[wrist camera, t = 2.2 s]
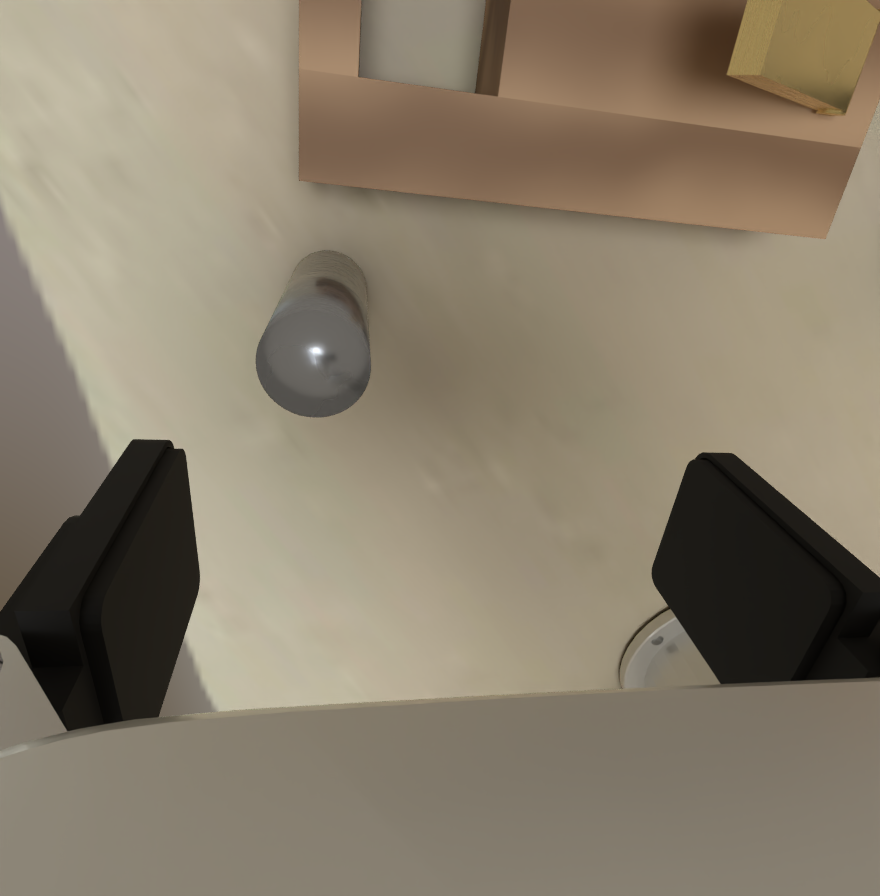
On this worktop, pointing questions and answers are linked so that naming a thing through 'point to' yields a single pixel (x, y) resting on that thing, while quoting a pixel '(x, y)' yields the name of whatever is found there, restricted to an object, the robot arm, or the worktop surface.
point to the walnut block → (585, 118)
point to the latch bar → (805, 49)
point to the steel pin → (318, 338)
